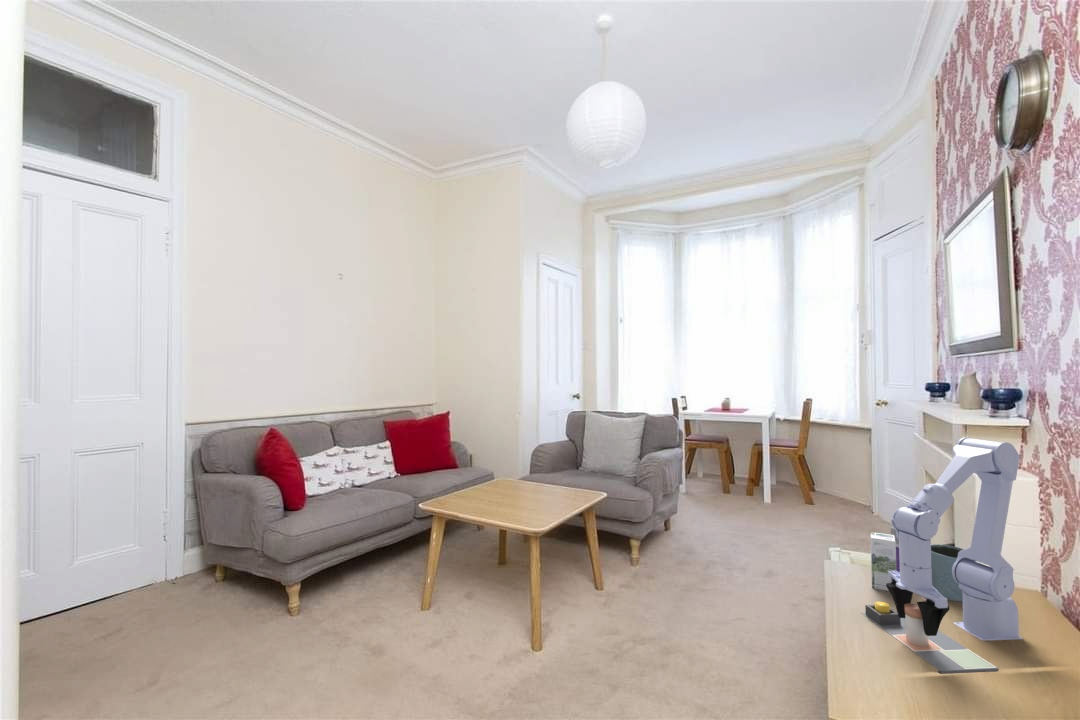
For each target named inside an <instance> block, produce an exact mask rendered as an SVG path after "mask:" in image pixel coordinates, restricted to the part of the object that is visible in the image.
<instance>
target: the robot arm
mask: <svg viewBox="0 0 1080 720" xmlns="http://www.w3.org/2000/svg"><path fill="white" fill-rule="evenodd" d="M952 455H953V458H952V459H951V460H950V462H949V463H948V465H947V466H946V467H945V469H944V471H942V474H941V475H940V476H939V478H938V479H937V481H936V482H935V483H927V484H926V485H924V486H923V487H922V489H921V490H920V491H919V492H918V494H916V496H915V497H914V498H913V499H912V500H911V501H910V503H909V504H908V505H907V506H903V507H899V508H897V509H896V510H895V512H894V513H893V515H892V519H891V520H890V521H891V526H893V527H894V529H895V530H896V537H897V538H898V539H899V560H900V572H898V571H888V579H889V580H891V581H892V582H891V583H887V584H886V587H887V588H888V590H889V593H890V595H891V598H892V600H893V602H894V605H895V610H896V612H897V613H898V616H899V617H900V618H905V604H908V603H912V601H913V600H912V598H913V595H914V594H916V595H918V596H919V597H922V598H923V599H925V600H926V601H924V600H923V601H916V604H917V605H918V607H919V609H920V611H921V615H922V619H923V628H924V632H925V635H927V636H936V635H937V632H938V630H939V629H940V625H941V623H942V621H943V619H944V617H945V616H946V614H947V613H948V612H949V611H950V605H949V604H948V599H947V598H945V597H944V596H942V595H941V594H940V593H939V592H938V591H937V590H936V589H935V588H934V587H933V586H932V567H931V545H932V541H931V540H932V538H934V537H935V536H937V533H938V531H939V530H938V529H939V525H940V523H941V517H942V516H943V515H944V514H945V513H946V511H947V510H948V509H949V508H950V507H951V506H952V504H953V503H954V496H953V493H954V492H955V491H957V490H958V489H959V488H960V487H961V485H963V484H964V483H965V482H966V481H967V480H969V478H970V477H971V476H973V474H975V475H976V476H978V478H979V479H980V481H981V484H980V490H979V496H978V499H977V500H978V501H977V502H978V503H977V507H976V512H975V520H974V525H973V530H972V531H973V532H972V535H971V536H972V537H971V543H970V546H969V547H968V548H963V549H964V550H962V551H959V552H958V557H957V560H956V562H955V563H954V565H953V567H952V575H953V578H954V580H955V581H956V582H957V583H958V584H959V588H960V589H962V597H963V602H962V621H955V622H952V623H953V624H954V625H955V626H958V627H959V628H961V629H963V630H964V631H966V632H967V633H969V634H971V635H972V636H974V637H976V638H977V639H979V640H980V641H1003V640H1004V641H1005V640H1008V641H1009V640H1023V637H1022V636H1020V626H1019V623H1020V621H1019V609H1018V605H1017V603H1016V602H1015V600H1014V599H1013V598H1012V595H1013V594H1014V591H1015V580H1014V567H1013V566H1012V565H1011V564H1010V563H1009V562H1008V561H1007V560H1006V559H1005V558H1004V557H1003V556H1002V549H1003V543H1004V537H1005V532H1006V525H1007V518H1008V513H1009V507H1010V501H1011V495H1012V490H1013V484H1014V481H1016V480H1017V475H1018V469H1019V463H1020V457H1021V455H1020V454H1019V452H1018V450H1017V449H1016V448H1015V446H1014V445H1013V444H1012V443H1010V442H1007V441H1006V442H1005V441H993V440H992V441H991V440H987V439H986V440H985V439H980V438H979V439H977V438H971V437H966V436H965V437H961V438H960V439H958V441H957V443H956V445H955V446H954V447H953V446H952Z"/></svg>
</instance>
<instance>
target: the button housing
mask: <svg viewBox="0 0 1080 720" xmlns="http://www.w3.org/2000/svg"><path fill="white" fill-rule="evenodd" d="M864 610H865V613H866V615H867V616H868V617H869V618H871V619H872V620H873V621H875V622H876V623H878V624H879V625H898V624H901V619H900V617H899V616H898V613H897V610H896V609H894V608H892V607H890V613H879V612H878V611H876V610H875V604H865V609H864Z"/></svg>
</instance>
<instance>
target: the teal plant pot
mask: <svg viewBox="0 0 1080 720" xmlns="http://www.w3.org/2000/svg"><path fill="white" fill-rule="evenodd" d="M964 549H965V548H962V547H957V546H953V545H949V544H933V543H932V544H931V567H932V586H933V587H934V588H935V589H936V590H937V591H938V592H939V593H940V594H941V595H942V596H944V597H945V598H947V600H949V601H954V602H962V603H963V597H962V589H960V588H959V584H958V583H957V582H956V581H955V580H954V578H953V575H952V567H953V565H954V563H955V562H956V560H957V557H958V552H959V551H962V550H964Z"/></svg>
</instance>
